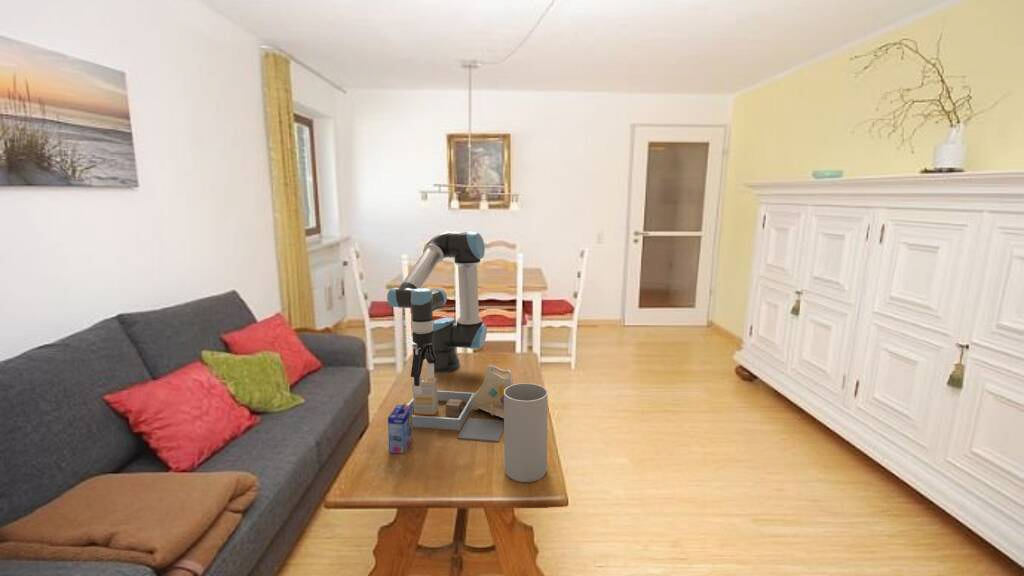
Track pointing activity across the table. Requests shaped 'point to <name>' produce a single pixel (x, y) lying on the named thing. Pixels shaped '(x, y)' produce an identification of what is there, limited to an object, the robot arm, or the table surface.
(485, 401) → the shape sorter
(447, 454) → the table surface
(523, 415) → the cylinder vase
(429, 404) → the supplement box
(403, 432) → the ink cartridge box
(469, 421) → the mat
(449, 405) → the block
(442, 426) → the bin
